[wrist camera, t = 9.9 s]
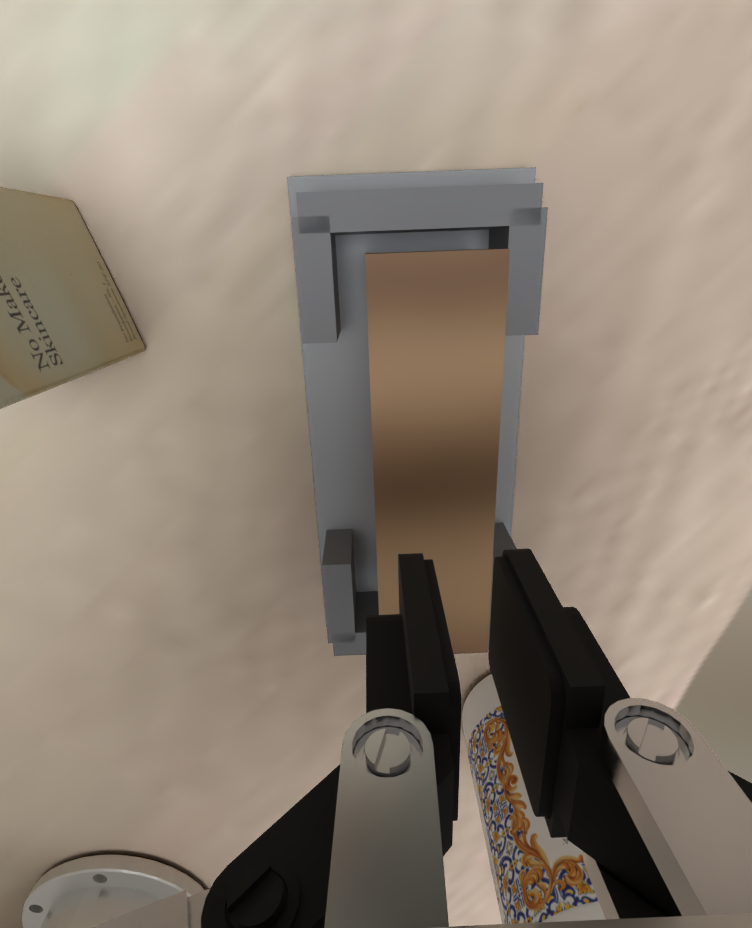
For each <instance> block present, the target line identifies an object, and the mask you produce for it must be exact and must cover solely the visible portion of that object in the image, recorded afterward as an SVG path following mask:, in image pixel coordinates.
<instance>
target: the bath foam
mask: <svg viewBox="0 0 752 928" xmlns="http://www.w3.org/2000/svg"><path fill="white" fill-rule="evenodd" d="M462 724H463V731H464V736H465V741H466V746H467V751H468V758H469V763H470V768H471V773H472V778H473V783H474V787H475V792H476V797H477V802H478V807H479V812H480V817H481V822H482V827H483V832H484V836H485V841H486V846H487V851H488V856H489V861H490V866H491V871H492V876H493V881H494V885H495V890H496V895H497V900H498V905H499V910H500V915H501V920H502V924H516V923H539V922H561V921H584V920H606V918H605V916H604V913H603V911H602V908H601V906H600V903H599V901H598V898H597V896H596V893H595V891H594V888H593V886H592V883H591V881H590V878H589V876H588V873H587V870H586V868H585V864H584V860H583V851H582V850H581V849H579V848H578V847H576V846H575V845H574V844H572V843H571V842H570V841H568V840H567V837H561V838H551V837H550V833H549V830H548V827H547V824H546V821H545V818H544V817H536V816H535V815H534V813H533V810H532V807H531V804H530V800H529V797H528V794H527V790H526V787H525V784H524V780H523V777H522V774H521V770H520V767H519V764H518V760H517V757H516V754H515V750H514V747H513V744H512V740H511V737H510V734H509V730H508V727H507V724H506V720H505V717H504V713H503V710H502V707H501V703H500V700H499V697H498V693H497V690H496V687H495V683H494V680H493V677H492V674H490V675H488V676H487V677H485V678H484V679H483V680H481V681H480V682H479V683H478V684H477V685H476V686H475V687H474V688H473V689H472V691H471V692H470V693H469V695H468V697H467V698H466V701H465V703H464V706H463V711H462Z"/></svg>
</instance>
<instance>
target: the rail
mask: <svg viewBox="0 0 752 928" xmlns="http://www.w3.org/2000/svg"><path fill="white" fill-rule="evenodd" d="M535 172H536V167H533V168H506V169H480V170H454V171H427V172H401V173H374V174H348V175H321V176H295V177H287V179H288V190H289V202H290V213H291V225H292V236H293V248H294V259H295V271H296V282H297V294H298V305H299V317H300V328H301V340H302V352H303V363H304V375H305V386H306V398H307V409H308V421H309V432H310V444H311V455H312V467H313V478H314V490H315V501H316V513H317V524H318V536H319V548H320V559H321V571H322V582H323V594H324V605H325V617H326V627H327V633H328V643H333V650H334V656H341V655H365V654H366V615H379V601H378V575H377V549H376V524H375V498H374V472H373V446H372V421H371V395H370V369H369V343H368V318H367V292H366V266H365V253H389V252H416V251H444V250H471V249H510V257H509V275H508V293H507V311H506V329H505V347H504V365H503V383H502V401H501V419H500V437H499V455H498V473H497V491H496V509H495V527H494V544H493V562H492V580H491V598H490V616H489V634H488V649H489V637H490V619H491V600H492V582H493V564H494V558H495V557H499V556H502V553H503V551H504V550H510V549H516V547H515V545H514V543H513V541H512V539H511V527H512V513H513V498H514V483H515V468H516V453H517V439H518V424H519V409H520V394H521V379H522V365H523V350H524V335H538V327H539V314H540V301H541V288H542V275H543V262H544V249H545V236H546V223H547V210H548V207H542V194H543V183H535ZM541 207H542V208H541Z"/></svg>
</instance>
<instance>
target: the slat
mask: <svg viewBox="0 0 752 928" xmlns="http://www.w3.org/2000/svg"><path fill="white" fill-rule="evenodd" d="M509 257H510V249H471V250H444V251H416V252H389V253H365V266H366V292H367V318H368V343H369V369H370V395H371V421H372V446H373V472H374V498H375V524H376V549H377V575H378V601H379V615H389V614H399V581H398V554H412V553H423V557H424V560H426V559H433V563H434V567H435V572H436V576H437V581H438V586H439V590H440V595H441V599H442V604H443V608H444V613H445V618H446V622H447V627H448V631H449V636H450V640H451V645H452V650H453V654H460V653H484V652H488V634H489V616H490V598H491V580H492V562H493V544H494V527H495V509H496V491H497V473H498V455H499V437H500V419H501V401H502V383H503V365H504V347H505V329H506V311H507V293H508V275H509Z"/></svg>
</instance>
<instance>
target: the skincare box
mask: <svg viewBox="0 0 752 928" xmlns="http://www.w3.org/2000/svg"><path fill="white" fill-rule="evenodd" d="M144 349H145V347H144V344H143V342H142V340H141V338H140V336H139V334H138V332H137V329H136V327H135V325H134V323H133V321H132V319H131V317H130V315H129V313H128V310H127V308H126V306H125V304H124V302H123V300H122V298H121V296H120V294H119V292H118V290H117V288H116V286H115V284H114V282H113V280H112V278H111V276H110V274H109V272H108V270H107V267H106V265H105V263H104V261H103V259H102V257H101V255H100V253H99V251H98V249H97V247H96V245H95V243H94V241H93V239H92V237H91V235H90V233H89V231H88V229H87V227H86V225H85V223H84V221H83V220H82V218H81V216H80V214H79V212H78V210H77V208H76V206H75V204H74V203H73V202H72V201H71V200H67V199H62V198H57V197H51V196H46V195H40V194H35V193H29V192H24V191H19V190H13V189H7V188H2V187H0V409H1V408H3V407H6V406H9V405H11V404H14V403H16V402H19V401H21V400H24V399H26V398H29V397H31V396H34V395H37V394H39V393H42V392H44V391H47V390H49V389H51V388H54V387H56V386H59V385H61V384H64V383H66V382H69V381H71V380H74V379H76V378H79V377H81V376H84V375H86V374H89V373H91V372H94V371H97V370H99V369H101V368H104V367H106V366H109V365H111V364H113V363H116V362H118V361H121V360H123V359H126V358H128V357H131V356H133V355H135V354H138V353H140V352H142V351H144Z"/></svg>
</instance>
